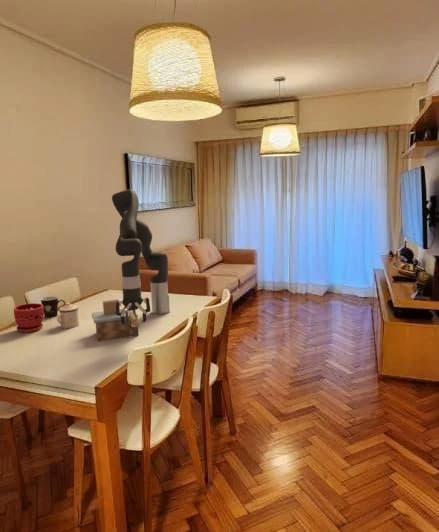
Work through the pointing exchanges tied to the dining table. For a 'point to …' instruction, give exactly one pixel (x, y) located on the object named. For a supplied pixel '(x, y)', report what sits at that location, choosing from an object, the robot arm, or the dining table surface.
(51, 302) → the coffee mug
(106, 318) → the lid
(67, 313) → the teacup with lid
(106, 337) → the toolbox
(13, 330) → the dining table surface
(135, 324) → the key
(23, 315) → the plant pot
